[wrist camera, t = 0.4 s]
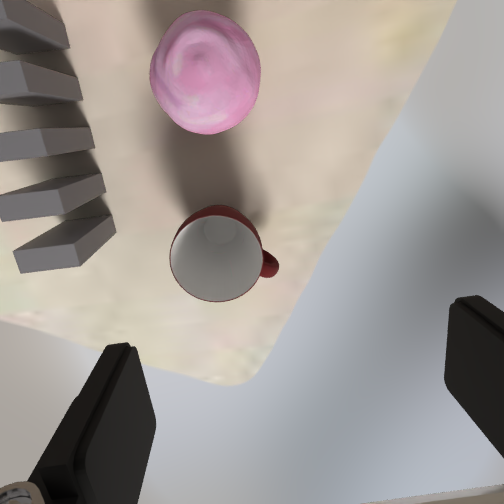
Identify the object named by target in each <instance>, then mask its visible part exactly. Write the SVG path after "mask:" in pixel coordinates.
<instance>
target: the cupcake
mask: <svg viewBox="0 0 504 504" xmlns="http://www.w3.org/2000/svg"><path fill="white" fill-rule="evenodd" d="M260 74H261V67H260V60H259V56H258V53H257V51H256V48H255V46H254V44H253V42H252V40H251V39H250V37H249V36H248V34H247V33H246V32H245V31H244V30H243V29H242V28H241V27H240V26H239V25H238V24H236V23H235V22H234V21H232V20H231V19H229V18H227V17H225V16H223V15H220V14H217V13H215V12H211V11H206V10H196V11H191V12H188V13H185V14H183V15H181V16H180V17H178V18H177V19H176V20H175V21H174V22H173V23H172V24H171V26H170V27H169V28H168V30H167V31H166V32H165V34H164V36H163V37H162V39H161V41H160V43H159V45H158V47H157V49H156V51H155V52H154V54H153V57H152V60H151V64H150V84H151V88H152V91H153V94H154V96H155V98H156V100H157V101H158V103H159V104H160V106H161V108H162V109H163V110H164V111H165V112H166V113H167V114H168V115H169V116H170V117H171V118H172V120H173V121H174V122H175V123H176V124H177V125H179V126H181V127H182V128H184V129H186V130H188V131H191V132H195V133H199V134H216V133H219V132H222V131H225V130H227V129H230V128H232V127H234V126H236V125H237V124H238V123H240V122H241V121H242V120H243V119H244V118H245V117H246V116H247V115H248V113H249V112H250V111H251V109H252V108H253V106H254V104H255V102H256V99H257V96H258V92H259V85H260Z"/></svg>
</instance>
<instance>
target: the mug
mask: <svg viewBox="0 0 504 504" xmlns="http://www.w3.org/2000/svg"><path fill="white" fill-rule="evenodd" d="M170 267H171V270H172V273H173V276H174V277H175V279H176V281H177V282H178V284H179V285H180V286H181V287H182V288H183V289H184V290H185V291H186V292H187V293H189V294H190V295H192V296H194V297H196V298H198V299H201V300H204V301H209V302H225V301H230V300H233V299H236V298H238V297H240V296H242V295H243V294H245V293H246V292H248V291H249V290H250V289H251V288H252V287H253V286H254V284H255V283H256V282H257V280H258V278H259V276H261V277H265V278H270V277H273V276H274V275H275V274H276V273H277V272H278V270H279V263H278V261H277V260H276V258H275V257H274V256H272V255H271V254H270V253H268V252H267V251H265V250H263V249H262V244H261V240H260V237H259V235H258V232H257V230H256V229H255V227H254V226H253V224H252V223H251V222H250V221H249V220H248V219H247V218H246V217H245V216H244V215H242V214H241V213H240V212H239V211H237V210H235V209H234V208H231V207H228V206H224V205H214V206H209V207H206V208H204V209H202V210H200V211H198V212H196V213H194V214H193V215H191V216H190V217H189V218H187V219H186V220H185V221H184V223H183V224H182V225H181V226H180V228H179V229H178V231H177V233H176V235H175V237H174V240H173V242H172V245H171V249H170Z"/></svg>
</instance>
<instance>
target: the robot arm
mask: <svg viewBox="0 0 504 504" xmlns="http://www.w3.org/2000/svg"><path fill="white" fill-rule="evenodd" d="M444 380H445V384H446V386H447V389H448V390H449V391H450V393H451V394H452V395H453V396H454V398H455V399H456V400H457V401H458V403H459V404H460V405H461V406H462V408H463V409H464V410H465V411H466V412H467V414H468V415H469V416H470V417H471V419H472V420H473V421H474V422H475V424H476V425H477V426H478V427H479V428H480V430H481V431H482V432H483V433H484V435H485V436H486V437H487V438H488V439H489V441H490V442H491V443H492V444H493V446H494V447H495V448H496V449H497V450H498V452H499V453H500V454H501V455H502V457H503V458H504V312H503V311H501V310H500V309H498V308H497V307H496V306H494V305H493V304H491V303H490V302H488V301H487V300H486V299H484V298H483V297H481V296H478V295H475V296H467V297H460V298H457V299H456V300H455V302H454V303H453V304H451V305H450V308H449V321H448V334H447V348H446V360H445V373H444ZM155 430H156V418H155V414H154V410H153V407H152V403H151V399H150V395H149V392H148V388H147V384H146V381H145V377H144V373H143V370H142V366H141V362H140V359H139V355H138V351H137V349H136V347H135V346H133V347H131V346H130V344H129V343H127V342H125V343H118V344H111V345H107V346H106V347H105V349H104V351H103V353H102V354H101V356H100V358H99V360H98V361H97V363H96V365H95V367H94V369H93V370H92V372H91V374H90V376H89V377H88V379H87V381H86V383H85V385H84V386H83V388H82V390H81V392H80V394H79V395H78V396H77V397H76V398H75V399H74V401H73V402H72V404H71V406H70V407H69V409H68V411H67V412H66V414H65V416H64V418H63V419H62V421H61V423H60V425H59V426H58V428H57V430H56V432H55V433H54V435H53V437H52V439H51V440H50V442H49V444H48V446H47V447H46V449H45V451H44V453H43V454H42V456H41V458H40V460H39V461H38V463H37V465H36V467H35V469H34V470H33V472H32V474H31V475H30V477H29V479H28V481H24V482H15V483H12V484H9V485H6V486H4V487H2V488H0V504H137V503H138V499H139V495H140V491H141V487H142V483H143V479H144V475H145V471H146V467H147V463H148V459H149V454H150V451H151V447H152V443H153V439H154V435H155ZM363 504H504V484H502V485H495V486H488V487H480V488H472V489H465V490H457V491H450V492H442V493H435V494H428V495H421V496H414V497H406V498H399V499H392V500H385V501H377V502H370V503H363Z"/></svg>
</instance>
